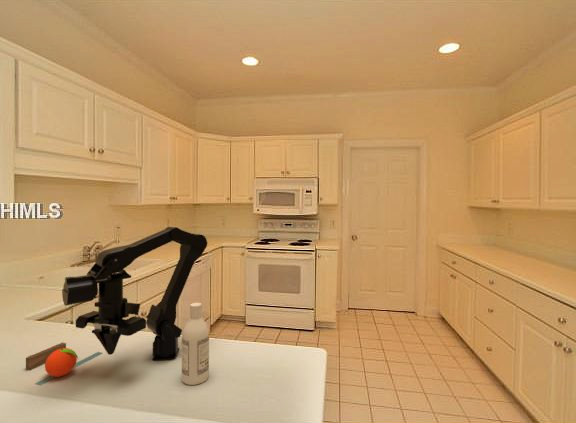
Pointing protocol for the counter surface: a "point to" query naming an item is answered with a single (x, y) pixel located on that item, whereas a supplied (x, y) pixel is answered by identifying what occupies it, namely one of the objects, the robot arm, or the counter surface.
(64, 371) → the clementine
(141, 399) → the counter surface
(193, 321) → the bath foam
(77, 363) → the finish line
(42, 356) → the rail
